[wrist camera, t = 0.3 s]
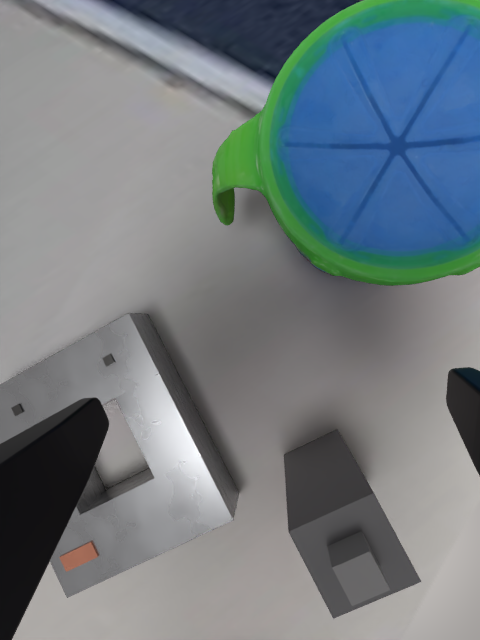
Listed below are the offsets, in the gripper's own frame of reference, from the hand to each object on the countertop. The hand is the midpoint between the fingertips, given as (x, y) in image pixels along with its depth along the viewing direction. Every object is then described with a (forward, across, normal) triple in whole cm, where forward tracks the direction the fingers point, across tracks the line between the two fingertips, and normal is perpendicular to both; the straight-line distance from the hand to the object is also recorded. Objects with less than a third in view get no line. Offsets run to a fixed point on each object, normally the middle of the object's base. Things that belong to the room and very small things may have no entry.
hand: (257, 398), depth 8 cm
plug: (+9, -2, +13) cm, 16 cm away
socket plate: (+10, +12, +10) cm, 19 cm away
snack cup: (+16, -5, -1) cm, 17 cm away
